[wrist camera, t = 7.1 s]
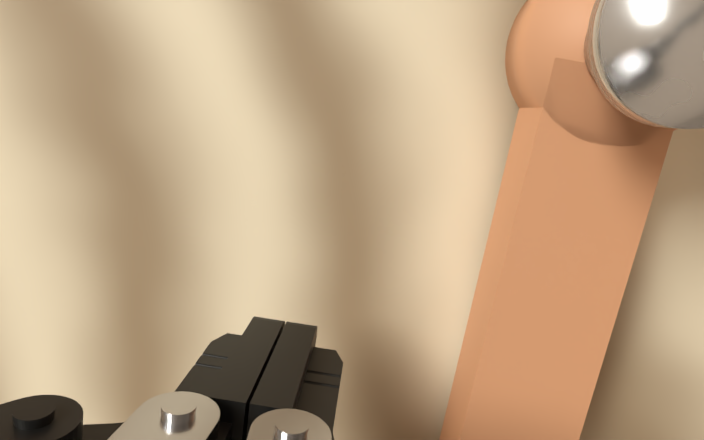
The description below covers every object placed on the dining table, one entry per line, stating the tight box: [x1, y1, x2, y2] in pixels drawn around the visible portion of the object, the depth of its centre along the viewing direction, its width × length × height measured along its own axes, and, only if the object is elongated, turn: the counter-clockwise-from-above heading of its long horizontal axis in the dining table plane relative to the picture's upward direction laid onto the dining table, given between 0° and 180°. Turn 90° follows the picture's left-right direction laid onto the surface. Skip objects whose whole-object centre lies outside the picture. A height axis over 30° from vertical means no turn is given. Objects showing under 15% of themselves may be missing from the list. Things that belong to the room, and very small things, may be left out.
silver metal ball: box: [584, 0, 704, 129], centre depth 10 cm, size 3×3×3 cm
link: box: [439, 0, 678, 440], centre depth 14 cm, size 18×4×2 cm, turn 170°
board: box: [0, 0, 704, 440], centre depth 16 cm, size 26×28×1 cm
